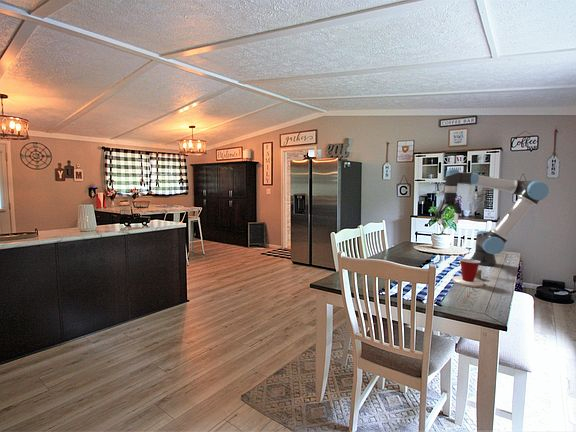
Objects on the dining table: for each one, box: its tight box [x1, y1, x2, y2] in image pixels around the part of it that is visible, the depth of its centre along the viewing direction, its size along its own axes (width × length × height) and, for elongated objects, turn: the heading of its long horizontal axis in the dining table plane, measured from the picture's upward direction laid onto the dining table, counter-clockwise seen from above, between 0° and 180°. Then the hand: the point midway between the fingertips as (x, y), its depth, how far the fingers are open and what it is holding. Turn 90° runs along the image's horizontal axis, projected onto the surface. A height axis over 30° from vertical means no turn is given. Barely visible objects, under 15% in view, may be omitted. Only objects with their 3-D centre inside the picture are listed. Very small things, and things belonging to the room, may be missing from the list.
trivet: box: [452, 275, 485, 288], centre depth 197 cm, size 16×16×2 cm
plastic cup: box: [459, 258, 480, 282], centre depth 196 cm, size 11×11×12 cm
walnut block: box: [475, 268, 482, 280], centre depth 206 cm, size 5×5×5 cm
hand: (448, 223), depth 233 cm, fingers open, 13 cm apart
